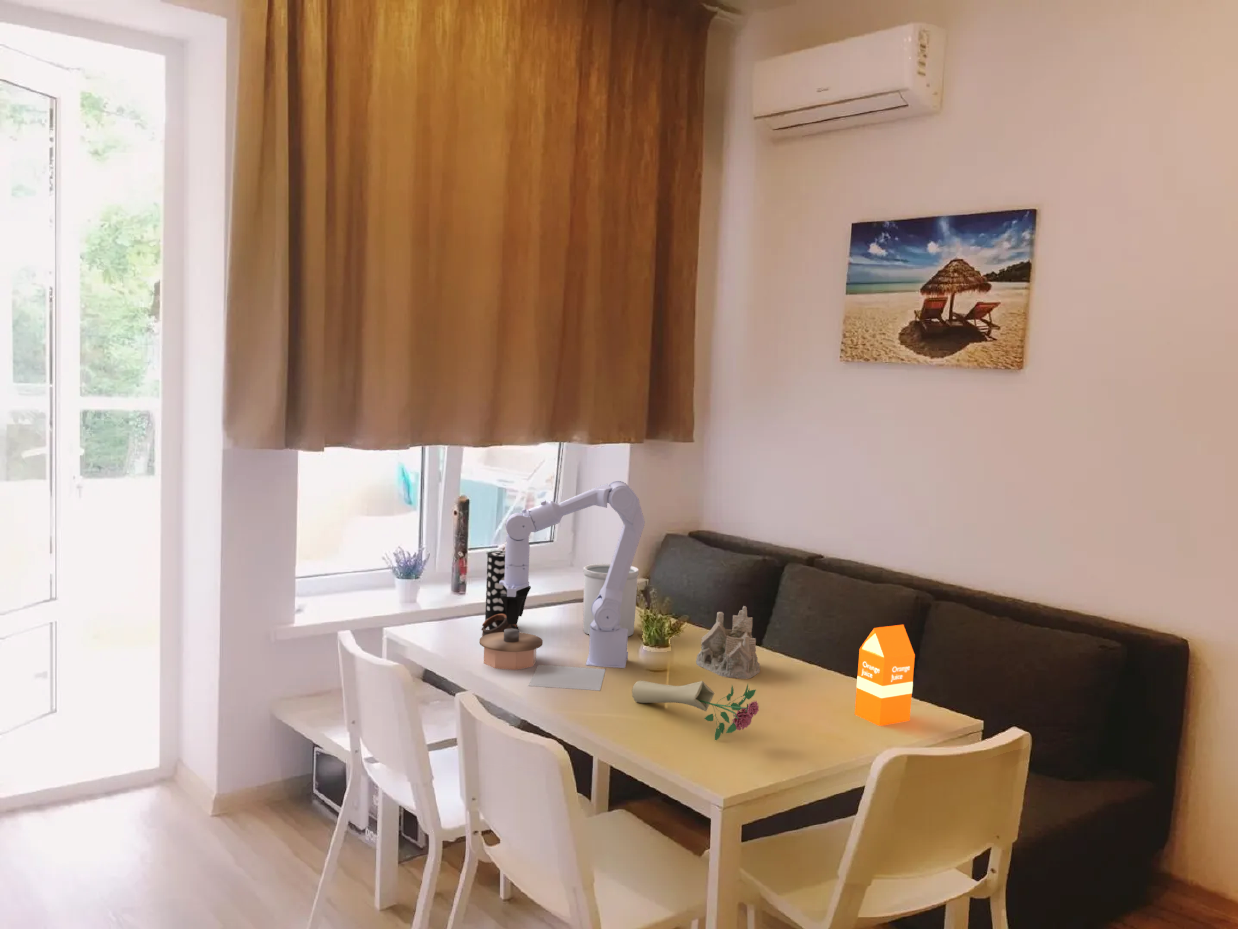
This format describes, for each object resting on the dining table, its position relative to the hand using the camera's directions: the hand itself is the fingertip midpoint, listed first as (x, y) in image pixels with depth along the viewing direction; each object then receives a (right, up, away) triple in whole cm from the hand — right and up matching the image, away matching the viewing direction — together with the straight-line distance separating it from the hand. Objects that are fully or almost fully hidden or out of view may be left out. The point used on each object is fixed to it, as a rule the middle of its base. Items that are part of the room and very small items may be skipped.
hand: (515, 619), depth 250 cm
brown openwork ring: (-5, -9, +19) cm, 21 cm away
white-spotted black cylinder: (-7, -7, +32) cm, 34 cm away
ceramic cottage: (+51, -13, +5) cm, 53 cm away
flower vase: (+40, -17, -36) cm, 57 cm away
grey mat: (+13, -12, -10) cm, 20 cm away
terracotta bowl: (-1, -10, 0) cm, 10 cm away
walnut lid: (-1, -5, 0) cm, 5 cm away
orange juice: (+81, -17, -26) cm, 87 cm away
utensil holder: (+22, -8, +33) cm, 40 cm away
